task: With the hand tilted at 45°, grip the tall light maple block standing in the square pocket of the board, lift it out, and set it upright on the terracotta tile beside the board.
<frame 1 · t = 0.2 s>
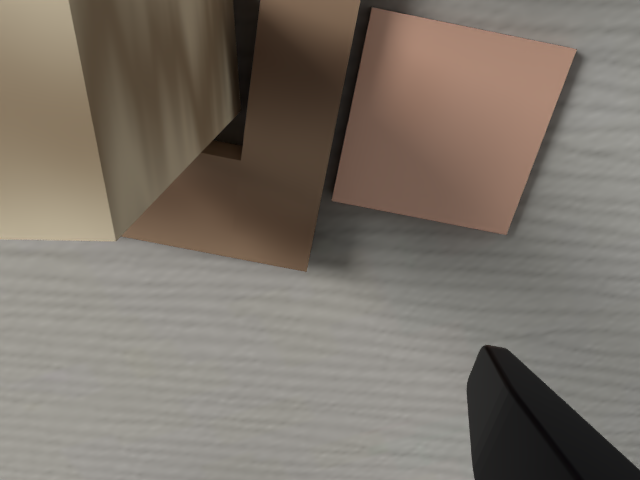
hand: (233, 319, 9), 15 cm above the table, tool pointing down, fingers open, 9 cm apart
maple block: (109, 70, 15), in the pocket board
terracotta tile: (442, 127, 22), on the table
pocket board: (176, 49, 21), on the table
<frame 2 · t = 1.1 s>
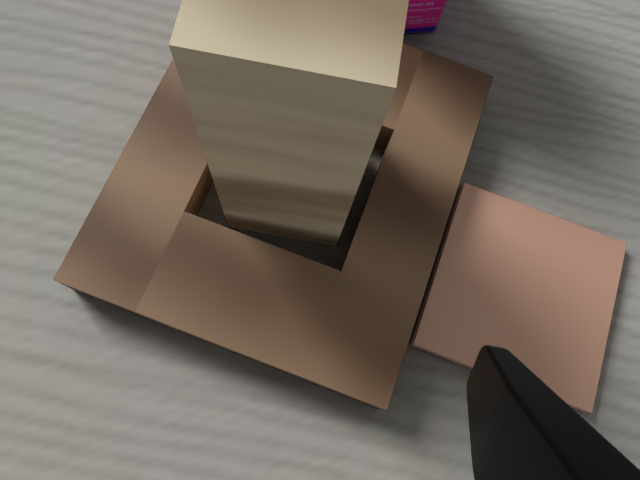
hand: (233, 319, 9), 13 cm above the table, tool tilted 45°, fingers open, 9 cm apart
maple block: (295, 116, 18), in the pocket board
terracotta tile: (518, 293, 24), on the table
pocket board: (292, 186, 24), on the table
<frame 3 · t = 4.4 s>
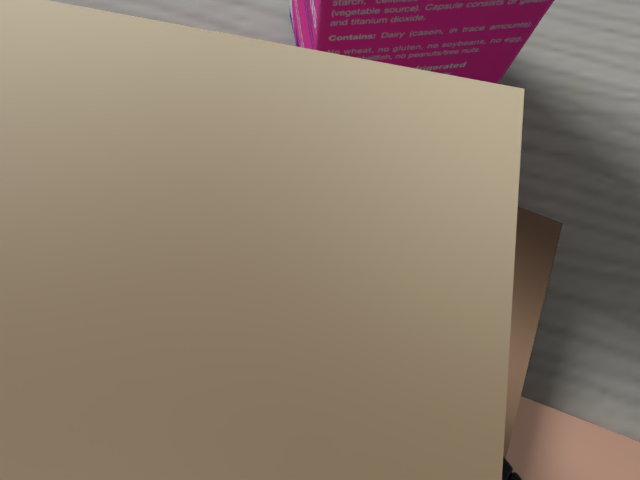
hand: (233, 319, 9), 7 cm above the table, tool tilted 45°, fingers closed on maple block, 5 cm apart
maple block: (211, 400, 9), in the pocket board, touching gripper
supplement box: (371, 79, 19), on the table
pocket board: (241, 400, 15), on the table
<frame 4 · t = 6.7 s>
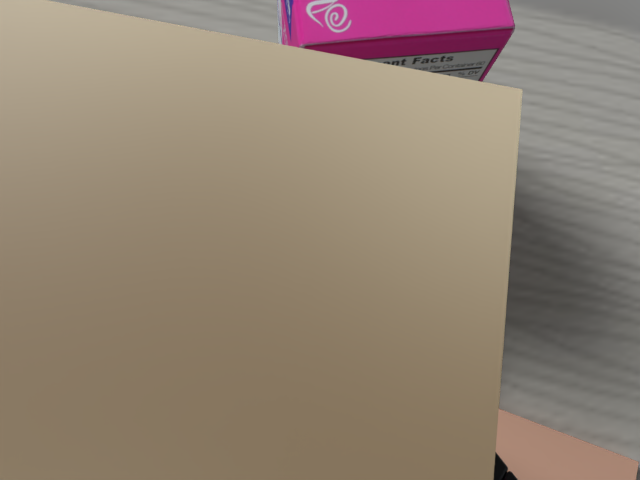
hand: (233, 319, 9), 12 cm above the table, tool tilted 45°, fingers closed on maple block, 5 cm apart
maple block: (216, 399, 9), point 12 cm above the table, touching gripper
supplement box: (344, 146, 25), on the table
when the fingers open (8 cm above the table, at t = 9.0 s): maple block drops 1 cm, resting on terracotta tile.
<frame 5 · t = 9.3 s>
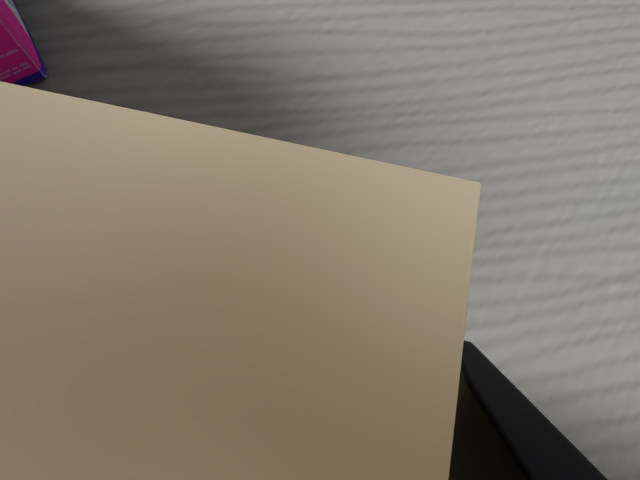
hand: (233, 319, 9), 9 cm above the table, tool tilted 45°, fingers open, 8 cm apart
maple block: (223, 400, 10), on the terracotta tile, point 7 cm above the table
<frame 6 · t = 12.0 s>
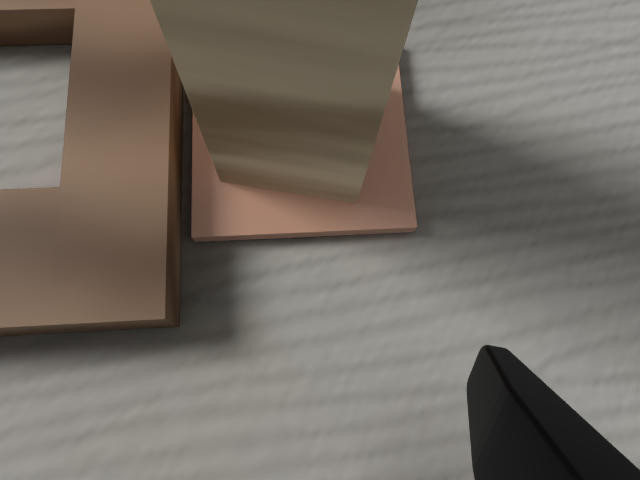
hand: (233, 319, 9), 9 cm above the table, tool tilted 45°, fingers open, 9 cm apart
maple block: (299, 8, 13), on the terracotta tile, point 7 cm above the table
terracotta tile: (300, 137, 20), on the table
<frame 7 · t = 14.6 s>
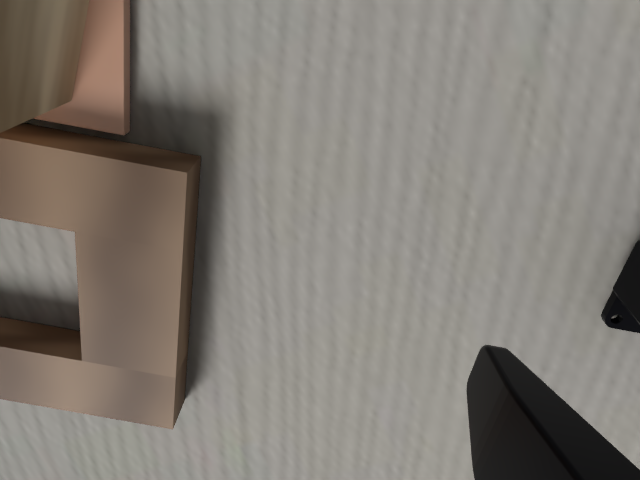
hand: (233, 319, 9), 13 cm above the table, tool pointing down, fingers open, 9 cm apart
terracotta tile: (24, 8, 19), on the table
pocket board: (25, 264, 25), on the table
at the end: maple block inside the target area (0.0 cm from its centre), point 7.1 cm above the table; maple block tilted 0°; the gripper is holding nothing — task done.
